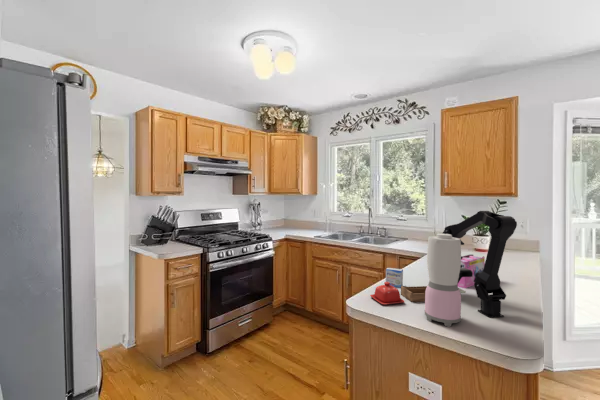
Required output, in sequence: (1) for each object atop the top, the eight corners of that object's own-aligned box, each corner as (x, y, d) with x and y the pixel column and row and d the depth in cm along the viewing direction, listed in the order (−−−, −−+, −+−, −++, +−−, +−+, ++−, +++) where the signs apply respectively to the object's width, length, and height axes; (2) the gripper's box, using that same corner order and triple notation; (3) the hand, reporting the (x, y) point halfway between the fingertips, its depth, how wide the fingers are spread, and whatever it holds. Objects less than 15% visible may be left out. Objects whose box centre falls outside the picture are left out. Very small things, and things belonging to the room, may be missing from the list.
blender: (455, 330, 101) (457, 238, 100) (419, 319, 109) (421, 234, 108) (466, 316, 112) (468, 233, 112) (433, 307, 121) (435, 230, 120)
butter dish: (382, 307, 121) (382, 286, 121) (368, 297, 132) (369, 279, 132) (406, 304, 124) (406, 285, 124) (391, 295, 135) (391, 277, 135)
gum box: (470, 277, 167) (471, 253, 167) (486, 280, 161) (486, 256, 160) (449, 284, 153) (450, 258, 153) (465, 288, 147) (466, 261, 146)
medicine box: (385, 285, 150) (385, 268, 149) (387, 283, 153) (387, 267, 153) (401, 288, 146) (401, 270, 146) (402, 285, 150) (403, 269, 150)
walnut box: (441, 301, 129) (441, 292, 128) (411, 302, 127) (411, 293, 127) (428, 293, 138) (428, 285, 138) (400, 294, 136) (400, 286, 136)
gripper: (425, 249, 142) (424, 281, 142) (450, 258, 124) (449, 294, 124) (446, 249, 144) (445, 280, 144) (473, 257, 125) (473, 293, 126)
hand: (452, 287), depth 134 cm, fingers closed
